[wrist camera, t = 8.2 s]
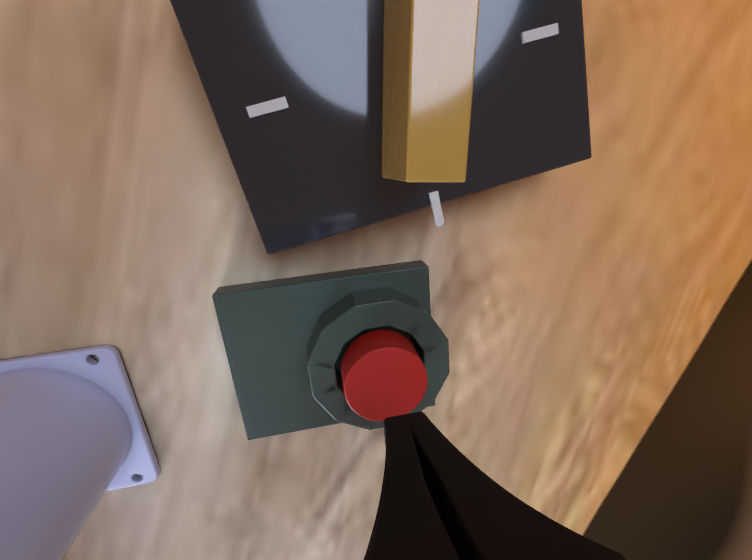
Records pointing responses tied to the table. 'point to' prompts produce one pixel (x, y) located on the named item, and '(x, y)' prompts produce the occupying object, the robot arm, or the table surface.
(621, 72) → the table surface
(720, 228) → the table surface
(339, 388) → the button box
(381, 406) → the button
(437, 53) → the gold rectangular bar
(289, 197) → the block
